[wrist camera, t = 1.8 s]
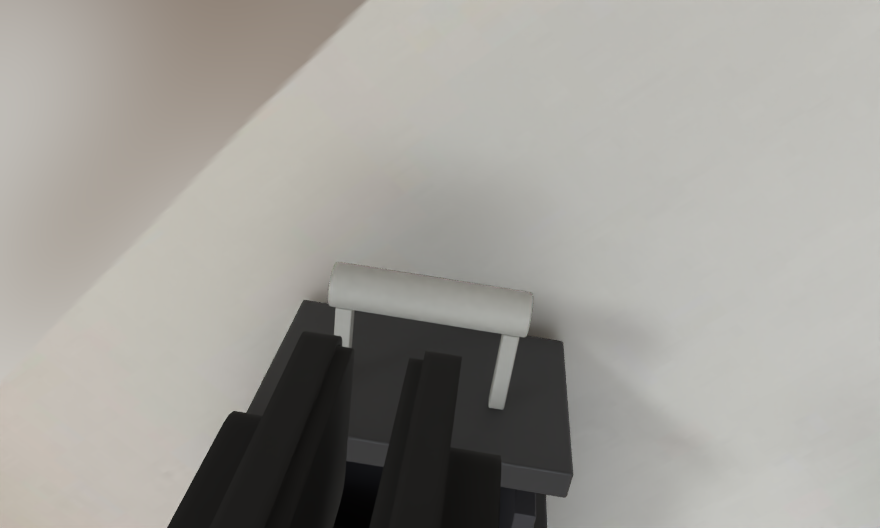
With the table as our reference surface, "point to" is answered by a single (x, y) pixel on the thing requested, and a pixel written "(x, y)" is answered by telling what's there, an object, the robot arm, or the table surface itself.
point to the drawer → (479, 390)
